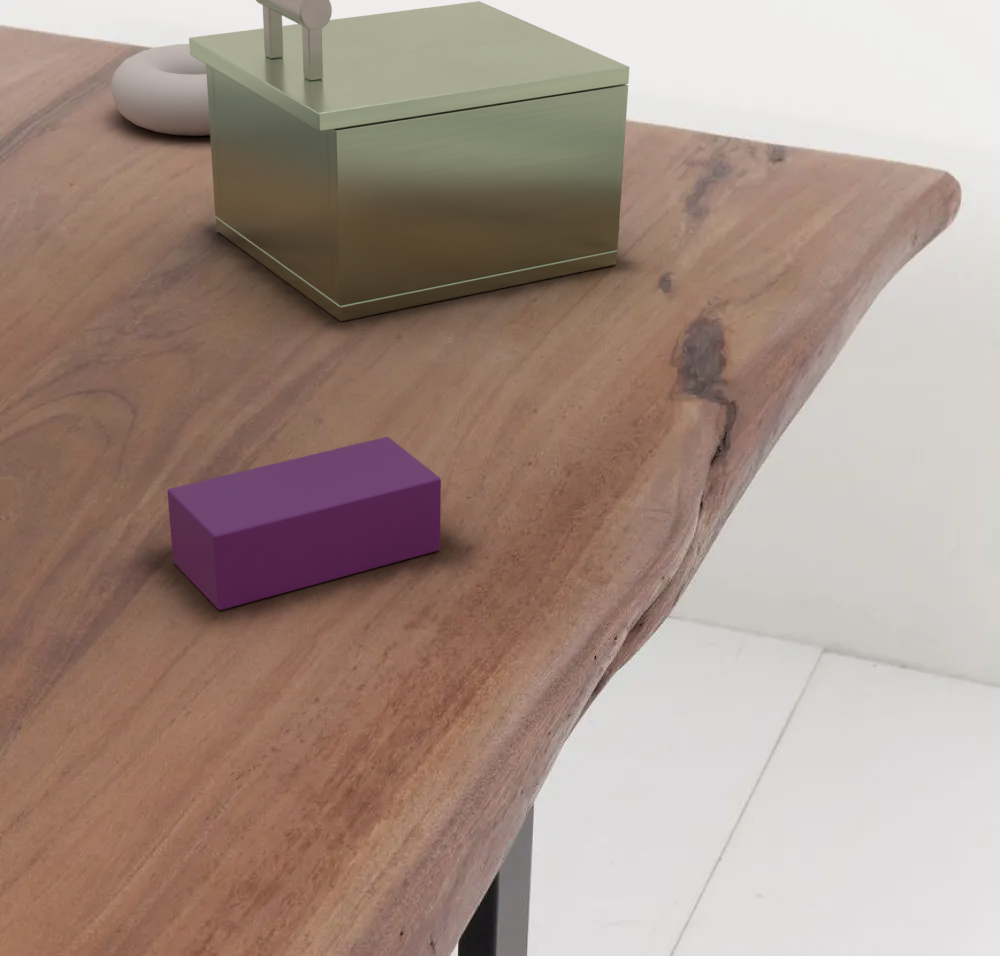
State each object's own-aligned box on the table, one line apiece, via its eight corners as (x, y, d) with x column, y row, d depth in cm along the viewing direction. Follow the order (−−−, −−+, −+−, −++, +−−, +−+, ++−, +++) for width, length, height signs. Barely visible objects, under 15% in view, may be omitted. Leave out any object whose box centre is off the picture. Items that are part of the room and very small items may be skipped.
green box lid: (319, 131, 82) (316, 21, 79) (189, 54, 91) (183, -47, 88) (628, 83, 89) (635, -19, 86) (479, 17, 98) (481, -78, 96)
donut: (95, 105, 114) (139, 150, 107) (89, 45, 112) (133, 87, 105) (253, 89, 117) (306, 132, 110) (250, 31, 116) (304, 71, 108)
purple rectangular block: (218, 611, 66) (213, 535, 64) (172, 562, 69) (166, 488, 67) (441, 550, 70) (441, 477, 68) (388, 506, 73) (388, 435, 71)
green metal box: (340, 322, 87) (335, 130, 82) (215, 231, 97) (204, 53, 91) (617, 265, 94) (628, 85, 89) (475, 185, 103) (479, 18, 98)
